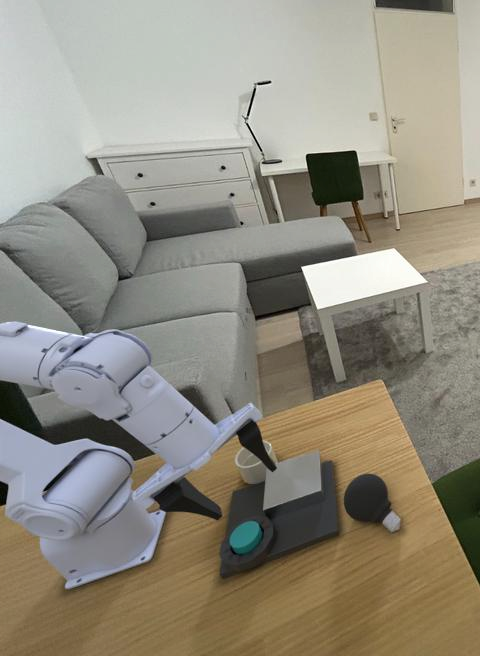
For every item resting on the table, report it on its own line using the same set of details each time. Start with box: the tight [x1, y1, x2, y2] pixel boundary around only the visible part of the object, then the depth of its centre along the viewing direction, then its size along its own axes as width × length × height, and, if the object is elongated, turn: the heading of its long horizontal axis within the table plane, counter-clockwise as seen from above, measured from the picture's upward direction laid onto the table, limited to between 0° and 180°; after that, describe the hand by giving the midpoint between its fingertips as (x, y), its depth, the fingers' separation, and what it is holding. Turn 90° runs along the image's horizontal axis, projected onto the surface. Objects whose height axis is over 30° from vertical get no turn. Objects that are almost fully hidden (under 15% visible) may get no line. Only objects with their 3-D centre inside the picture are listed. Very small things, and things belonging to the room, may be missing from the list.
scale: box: [219, 459, 340, 580], centre depth 59 cm, size 15×14×3 cm
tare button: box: [230, 521, 262, 554], centre depth 53 cm, size 4×4×2 cm
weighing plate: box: [263, 449, 325, 520], centre depth 62 cm, size 8×8×4 cm
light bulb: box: [343, 473, 402, 534], centre depth 58 cm, size 6×6×10 cm
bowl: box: [234, 439, 279, 485], centre depth 65 cm, size 5×5×4 cm
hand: (247, 489), depth 52 cm, fingers open, 7 cm apart
